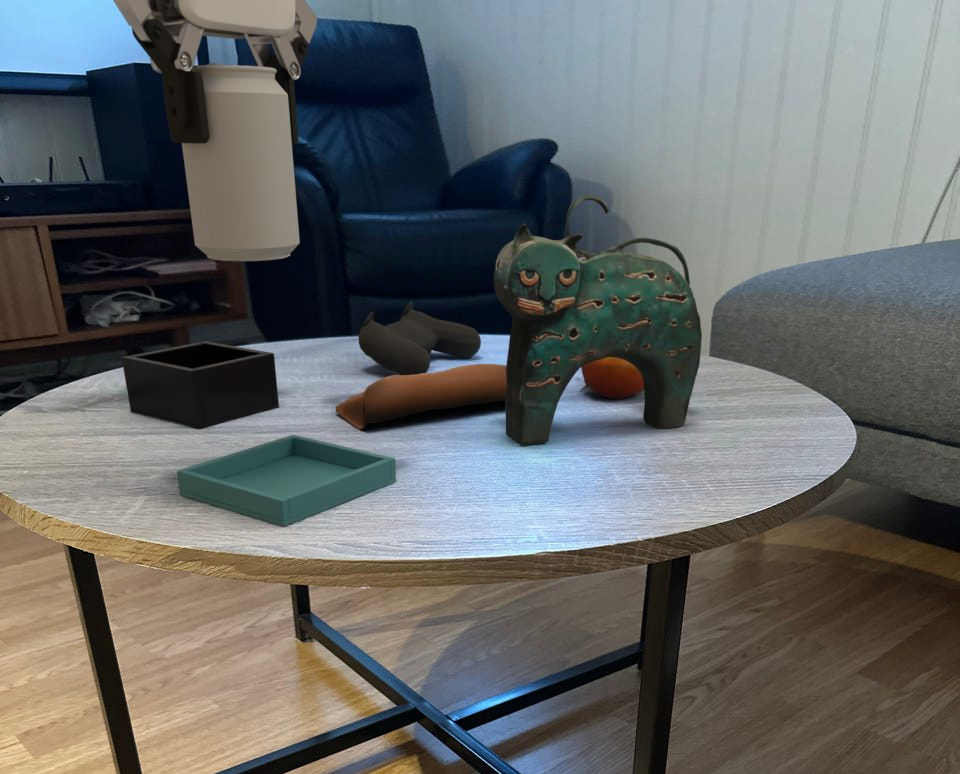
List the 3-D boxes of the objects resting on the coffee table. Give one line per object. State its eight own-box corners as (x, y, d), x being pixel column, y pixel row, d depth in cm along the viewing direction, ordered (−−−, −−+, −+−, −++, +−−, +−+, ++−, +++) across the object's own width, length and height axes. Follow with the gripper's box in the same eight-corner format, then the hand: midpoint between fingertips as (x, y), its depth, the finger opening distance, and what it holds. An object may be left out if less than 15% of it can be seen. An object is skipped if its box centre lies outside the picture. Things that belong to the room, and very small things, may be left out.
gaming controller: (469, 374, 119) (410, 326, 120) (491, 336, 115) (429, 287, 116) (403, 403, 106) (337, 349, 107) (425, 361, 102) (356, 305, 103)
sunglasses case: (483, 385, 100) (501, 335, 95) (513, 432, 98) (534, 383, 92) (328, 407, 92) (338, 354, 87) (356, 459, 89) (369, 407, 84)
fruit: (602, 366, 105) (635, 307, 99) (644, 414, 103) (680, 356, 97) (550, 376, 101) (581, 314, 95) (593, 426, 98) (627, 367, 92)
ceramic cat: (507, 452, 81) (513, 197, 72) (480, 433, 86) (481, 193, 77) (701, 430, 88) (729, 194, 78) (664, 413, 93) (687, 190, 84)
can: (321, 254, 70) (308, 66, 64) (252, 265, 64) (231, 59, 58) (245, 248, 73) (226, 69, 67) (173, 258, 67) (146, 62, 62)
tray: (284, 526, 65) (281, 500, 64) (179, 494, 71) (175, 470, 70) (396, 481, 74) (395, 458, 73) (295, 456, 80) (293, 434, 79)
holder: (199, 429, 87) (191, 371, 85) (130, 412, 92) (121, 357, 90) (279, 406, 94) (274, 352, 92) (211, 392, 100) (205, 341, 97)
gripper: (266, -145, 65) (288, 143, 73) (37, -216, 52) (95, 142, 61) (347, -161, 61) (360, 144, 70) (121, -242, 49) (171, 143, 57)
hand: (236, 141), depth 65 cm, fingers closed on can, 7 cm apart
